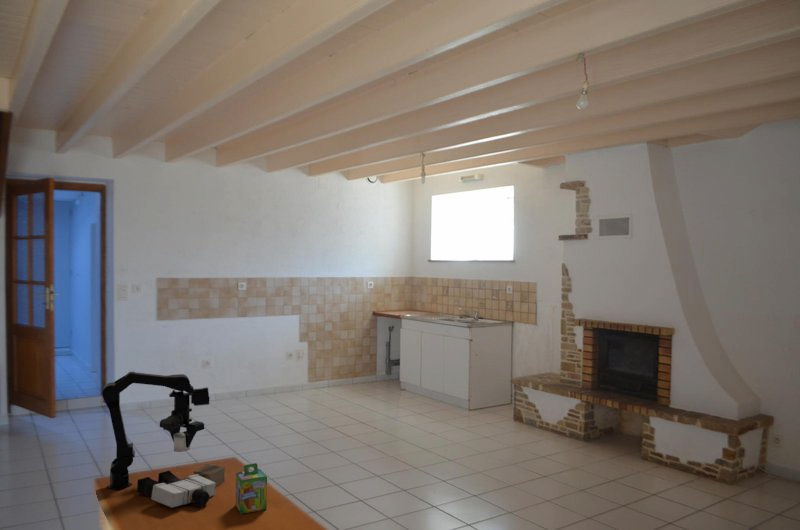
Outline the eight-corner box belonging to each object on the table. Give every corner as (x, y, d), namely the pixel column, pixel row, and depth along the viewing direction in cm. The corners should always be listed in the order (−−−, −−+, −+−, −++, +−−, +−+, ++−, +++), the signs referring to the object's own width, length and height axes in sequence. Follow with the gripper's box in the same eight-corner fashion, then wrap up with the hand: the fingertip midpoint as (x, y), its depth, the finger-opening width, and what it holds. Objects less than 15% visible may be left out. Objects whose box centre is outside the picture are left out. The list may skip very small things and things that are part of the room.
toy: (129, 496, 210) (180, 517, 194) (130, 477, 211) (182, 496, 194) (175, 483, 226) (226, 502, 210) (176, 465, 227) (227, 482, 210)
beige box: (193, 486, 221) (193, 470, 221) (208, 479, 229) (208, 464, 229) (210, 489, 218) (210, 473, 218) (225, 482, 226) (224, 466, 226)
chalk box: (240, 515, 196) (240, 471, 196) (234, 505, 204) (235, 463, 204) (267, 509, 200) (267, 466, 200) (261, 500, 208) (261, 459, 208)
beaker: (169, 450, 229) (169, 435, 229) (182, 446, 234) (182, 431, 234) (181, 452, 226) (181, 437, 226) (193, 448, 231) (193, 433, 232)
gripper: (148, 409, 227) (148, 448, 227) (183, 414, 219) (183, 455, 219) (170, 402, 237) (170, 441, 237) (205, 407, 229) (205, 447, 229)
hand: (181, 446), depth 230 cm, fingers closed on beaker, 6 cm apart
